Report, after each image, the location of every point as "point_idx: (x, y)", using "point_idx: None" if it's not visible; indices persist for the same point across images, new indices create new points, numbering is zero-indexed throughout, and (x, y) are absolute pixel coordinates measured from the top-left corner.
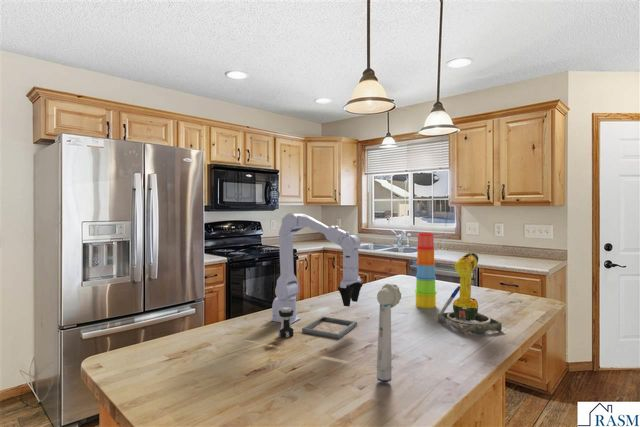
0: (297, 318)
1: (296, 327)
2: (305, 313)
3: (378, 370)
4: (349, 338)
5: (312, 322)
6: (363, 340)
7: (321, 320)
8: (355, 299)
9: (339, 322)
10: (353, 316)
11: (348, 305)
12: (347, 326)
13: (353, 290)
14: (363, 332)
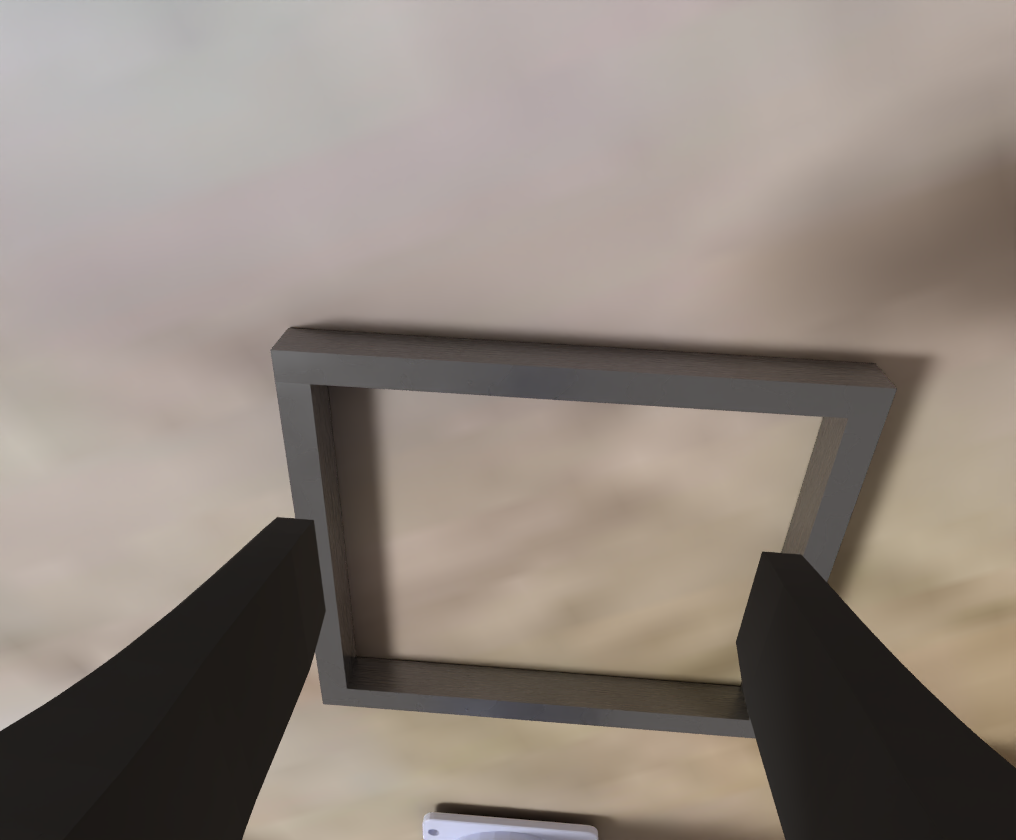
0: (461, 829)
1: (641, 770)
2: (251, 819)
3: None
4: (818, 256)
5: (559, 722)
6: (856, 39)
7: (409, 679)
8: (302, 581)
9: (339, 527)
10: (3, 466)
11: (817, 578)
12: (531, 396)
13: (206, 834)
14: (514, 156)
